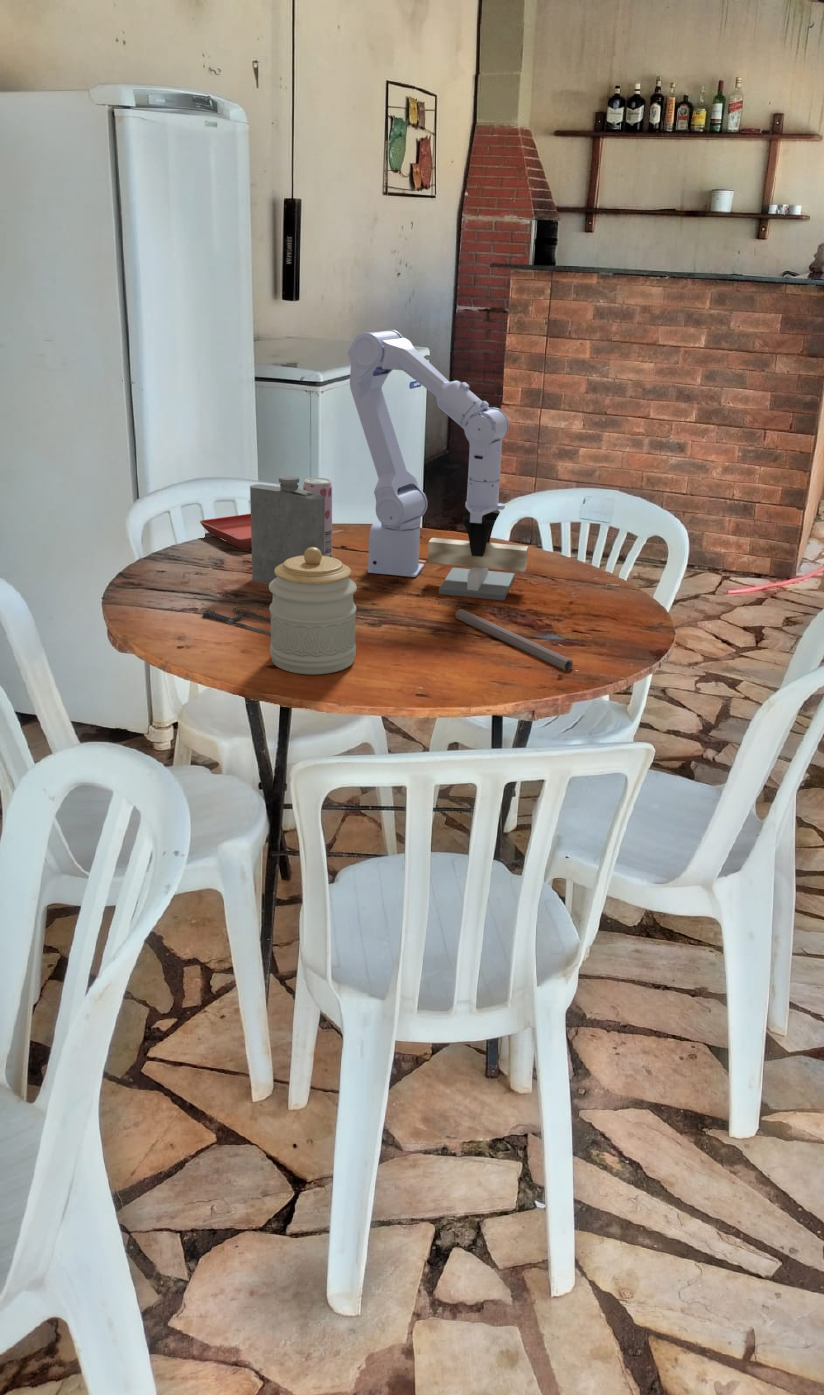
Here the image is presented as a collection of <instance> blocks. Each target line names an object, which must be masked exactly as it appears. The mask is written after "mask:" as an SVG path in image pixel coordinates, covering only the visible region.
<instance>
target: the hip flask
mask: <svg viewBox="0 0 824 1395" xmlns="http://www.w3.org/2000/svg"><path fill="white" fill-rule="evenodd" d="M278 483H280V485H279V486H277V485H276V486H275V485H269V484H261V483H257V484H251V485H249V490H250V491H249V495H250V497H249V499H250V500H249V502H250V514H251V543H252V549H251V570H252V571H251V574H252V575H251V576H252V577H251V578H252V582H253V583H259V584H264V585H269V584H270V583H271V581H273V580H274V579H275V578H277V576H276V575H275V573H274V570H275V568H276V567H277V566H279V565H280V564H282V563H284V562H285V561H286V560H287V559H289V558H292V557H296V556H304V553H305V551H306V550H307V549H308V548H310V547H316V548H318V549H319V550H320V551H321V554H322V556H324V524H325V497H324V496H321V495H317V494H314V493H312V492H309V491H305V490H303V489H302V488H299V483H300V477H299V476H296V475H281V476H278Z"/></svg>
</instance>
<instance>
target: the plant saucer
mask: <svg viewBox="0 0 824 1395" xmlns="http://www.w3.org/2000/svg"><path fill="white" fill-rule="evenodd" d="M199 523H200V524H201V526H202V527H203V528H204V530H206V531H207V532H208V533H209V534H210V536H213V537H214V538H215V537H216V538H218V539H219V538H222V539H224V540H226V541H227V542H226V541H225V542H226V543H228V542H229V543H228V544H230V543H231V544H230V545H232V544H233V545H232V546H234V545H235V546H234V547H236V546H237V547H236V548H238V547H239V549H240V548H241V549H240V550H243V549H247V550H251V549H250V548H252V543H251V513H245V514H237V515H232V516H231V515H230V516H224V517H217V518H208V519H201V520H200V521H199ZM236 533H237V534H236ZM230 534H234V535H230Z"/></svg>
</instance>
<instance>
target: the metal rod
mask: <svg viewBox="0 0 824 1395" xmlns="http://www.w3.org/2000/svg"><path fill="white" fill-rule="evenodd" d="M455 619H456V620H458V621H460V622H463V623H464V624H467V625H469V626H471V627H473V628H474V629H477V630H479V631H481V632H482V633H483V632H484V633H485V634H488V635H489V636H490V637H494V638H495V639H498V640H500V641H501V642H505V643H507V644H508V645H511V646H513V647H515V648H517V649H519V650H521V651H523V652H525V653H527V654H529V655H531V656H533V657H535V658H538V659H540V660H541V661H544V662H546V663H548V664H550V665H552V666H554V667H556V668H558V669H560V670H562V671H567V670H572V668H573V667H574V662H573V660H572V659H570V658H568V657H566V656H564V655H561V653H560V654H559V653H557V652H555V651H553V650H551V649H549V648H547V647H544V646H542V645H541V644H538V643H536V642H534V641H531V640H530V639H527V638H525V637H523V636H521V635H518V634H516V633H514V632H513V631H510V630H508V629H507V628H504V627H502V626H499V625H497V624H495V623H493V622H490V621H488V620H487V619H485V618H482V617H480V616H478V615H476V614H474V613H471V612H469V611H467V610H466V609H465V610H464V609H461V608H460V609H458V610H457V611H456V612H455Z"/></svg>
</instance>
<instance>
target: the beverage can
mask: <svg viewBox="0 0 824 1395" xmlns="http://www.w3.org/2000/svg"><path fill="white" fill-rule="evenodd" d="M302 486H303V487H302V488H303V489H302V490H305V491H309V492H312V493H314V494H317V495H321V496H324V497H325V524H324V556H328V557H331V556H332V554H333V485H332V480H330V479H329V478H325V477H324V478H323V477H310V478H306V479H304V480H303V485H302Z"/></svg>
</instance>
